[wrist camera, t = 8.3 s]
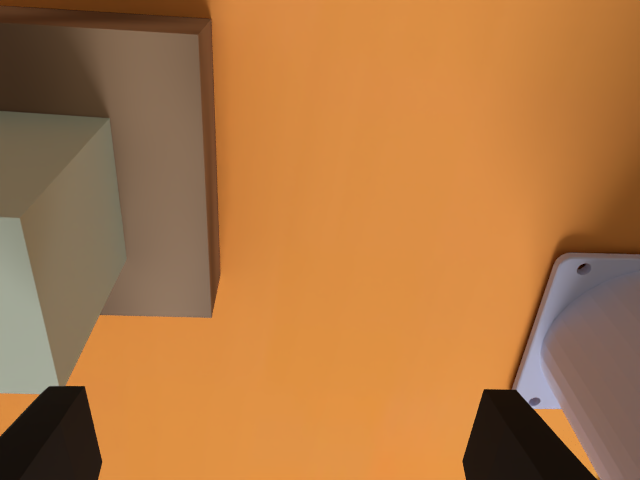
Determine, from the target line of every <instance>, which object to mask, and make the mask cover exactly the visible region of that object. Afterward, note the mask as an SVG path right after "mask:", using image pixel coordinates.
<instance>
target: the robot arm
mask: <svg viewBox="0 0 640 480" xmlns="http://www.w3.org/2000/svg"><path fill="white" fill-rule="evenodd" d="M585 263H586V264H585ZM582 264H585V266H584V267H582V268H581V269H578V267H579V266H580V265H582ZM534 409H562V410H563V412H564V414H565V416H566V418H567V419H568V421H569V423H570V425H571V427H572V428H573V430H574V432H575V434H576V436H577V438H578V439H579V441H580V443H581V445H582V447H583V449H584V450H585V452H586V454H587V456H588V458H589V459H590V461H591V463H592V465H593V467H594V469H595V470H596V472H597V474H598V476H599V478H600V479H601V480H640V254H605V253H565V254H563V255H561V256H560V257H559V258H557V259H556V261H555V263H554V265H553V268H552V271H551V274H550V277H549V280H548V283H547V286H546V289H545V292H544V295H543V298H542V301H541V304H540V307H539V310H538V313H537V316H536V319H535V322H534V325H533V328H532V331H531V334H530V337H529V340H528V343H527V346H526V348H525V351H524V354H523V357H522V360H521V363H520V366H519V369H518V372H517V375H516V378H515V381H514V384H513V387H512V390H493V389H484V391H483V394H482V398H481V401H480V404H479V408H478V411H477V414H476V418H475V421H474V424H473V428H472V431H471V434H470V438H469V441H468V444H467V448H466V451H465V454H464V458H463V466H464V471H465V476H466V480H597V479H596V478H595V477H594V476H593V475H592V474H591V473H590V472H589V470H588V469H587V468H586V467H585V466H584V465H583V464H582V463H581V462H580V461H579V460H578V458H577V457H576V456H575V455H574V454H573V453H572V452H571V451H570V450H569V448H568V447H567V446H566V445H565V444H564V443H563V442H562V441H561V440H560V438H559V437H558V436H557V435H556V434H555V433H554V432H553V431H552V429H551V428H550V427H549V426H548V425H547V424H546V423H545V422H544V420H543V419H542V418H541V417H540V416H539V415H538V414H537V413H536V411H535V410H534ZM101 465H102V459H101V454H100V450H99V446H98V441H97V437H96V433H95V429H94V424H93V420H92V416H91V411H90V407H89V403H88V399H87V394H86V390H85V386H49V387H48V388H46V389H45V390H44V391H43V392H42V393H41V394H40V395H39V396H38V397H37V398H36V399H35V400H34V401H33V402H32V404H31V405H30V406H29V407H28V408H27V409H26V410H25V411H24V412H23V413H22V414H21V415H20V416H19V417H18V418H17V419H16V420H15V421H14V423H13V424H12V425H11V426H10V427H9V428H8V429H7V430H6V431H5V432H4V433H3V434H2V435H1V436H0V480H98V477H99V473H100V469H101Z"/></svg>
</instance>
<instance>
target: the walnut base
mask: <svg viewBox="0 0 640 480" xmlns="http://www.w3.org/2000/svg"><path fill="white" fill-rule="evenodd" d="M0 111H9V112H24V113H39V114H54V115H70V116H85V117H100V118H110V127H111V135H112V143H113V151H114V159H115V167H116V176H117V184H118V192H119V200H120V208H121V216H122V225H123V233H124V241H125V249H126V257H127V259H126V261H125V263H124V265H123V267H122V270H121V272H120V274H119V276H118V278H117V280H116V282H115V284H114V286H113V288H112V290H111V292H110V294H109V296H108V299H107V301H106V303H105V305H104V307H103V309H102V311H101V313H100V315H123V316H163V317H204V318H212V313H213V308H214V303H215V299H216V294H217V289H218V284H219V279H220V250H219V222H218V193H217V165H216V136H215V108H214V79H213V51H212V22H211V19H207V18H191V17H175V16H159V15H143V14H127V13H111V12H95V11H79V10H64V9H48V8H32V7H16V6H0Z"/></svg>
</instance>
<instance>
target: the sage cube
mask: <svg viewBox="0 0 640 480" xmlns="http://www.w3.org/2000/svg"><path fill="white" fill-rule="evenodd" d="M126 259H127V257H126V249H125V241H124V233H123V225H122V216H121V208H120V200H119V192H118V184H117V176H116V167H115V159H114V151H113V143H112V135H111V127H110V118H100V117H85V116H70V115H54V114H39V113H24V112H9V111H0V393H17V394H41V393H42V392H43V391H44V390H45V389H46V388H48V387H49V386H65V385H66V383H67V381H68V379H69V377H70V375H71V373H72V371H73V369H74V367H75V365H76V363H77V361H78V359H79V357H80V354H81V352H82V350H83V348H84V346H85V344H86V342H87V340H88V338H89V336H90V334H91V332H92V330H93V328H94V325H95V323H96V321H97V319H98V317H99V315H100V313H101V311H102V309H103V307H104V305H105V303H106V301H107V299H108V296H109V294H110V292H111V290H112V288H113V286H114V284H115V282H116V280H117V278H118V276H119V274H120V272H121V270H122V267H123V265H124V263H125V261H126Z"/></svg>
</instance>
